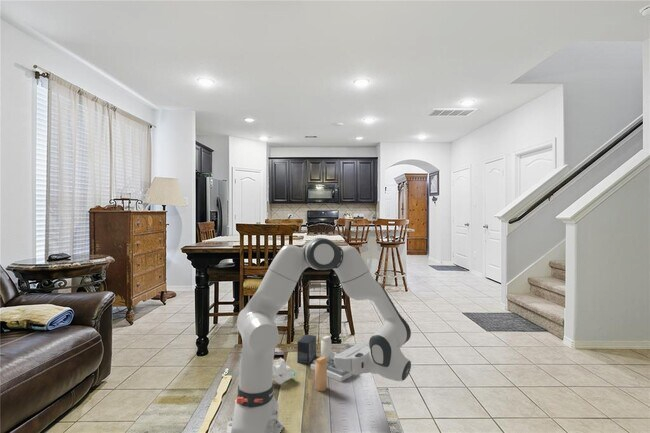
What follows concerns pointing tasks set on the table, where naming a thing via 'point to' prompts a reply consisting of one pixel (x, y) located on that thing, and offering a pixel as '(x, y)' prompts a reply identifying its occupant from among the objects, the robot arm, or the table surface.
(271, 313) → the robot arm
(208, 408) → the table surface
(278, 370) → the partial skull model
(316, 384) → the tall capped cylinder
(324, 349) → the grey base with column
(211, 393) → the table surface
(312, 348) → the small box
